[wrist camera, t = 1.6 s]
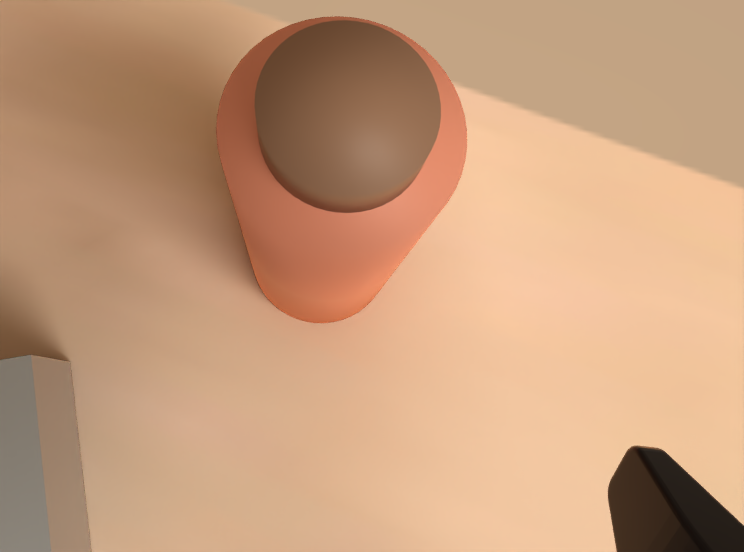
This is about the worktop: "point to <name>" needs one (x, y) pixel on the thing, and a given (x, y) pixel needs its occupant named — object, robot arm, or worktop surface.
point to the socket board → (40, 459)
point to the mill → (337, 159)
